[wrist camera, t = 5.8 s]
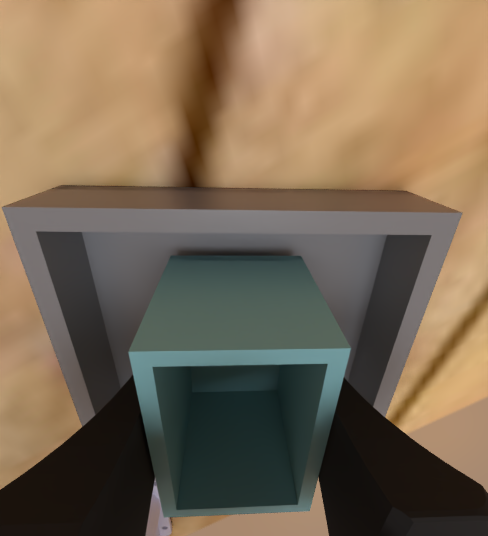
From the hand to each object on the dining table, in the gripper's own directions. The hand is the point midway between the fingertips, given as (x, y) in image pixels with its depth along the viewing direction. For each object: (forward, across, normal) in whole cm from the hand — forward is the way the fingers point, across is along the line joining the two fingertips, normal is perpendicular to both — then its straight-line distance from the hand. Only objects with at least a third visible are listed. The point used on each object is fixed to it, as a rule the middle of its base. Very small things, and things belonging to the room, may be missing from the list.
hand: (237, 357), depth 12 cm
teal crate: (+2, 0, 0) cm, 2 cm away
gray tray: (+3, 0, 0) cm, 3 cm away
